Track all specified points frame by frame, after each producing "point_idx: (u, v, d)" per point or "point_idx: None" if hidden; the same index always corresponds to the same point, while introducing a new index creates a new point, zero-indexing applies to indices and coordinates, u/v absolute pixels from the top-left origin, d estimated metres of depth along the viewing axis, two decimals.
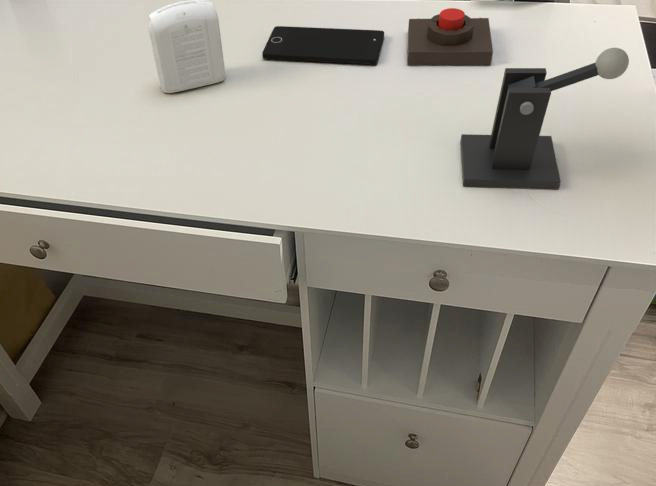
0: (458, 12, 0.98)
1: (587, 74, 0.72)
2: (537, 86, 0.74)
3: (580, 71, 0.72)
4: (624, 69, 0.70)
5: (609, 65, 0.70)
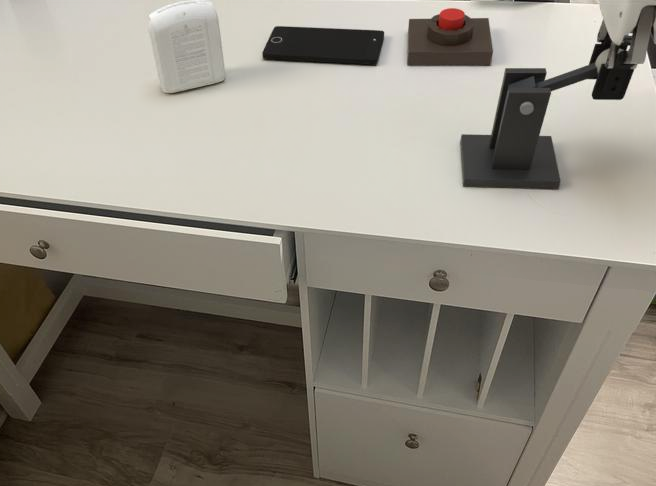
0: (458, 12, 0.98)
1: (587, 74, 0.72)
2: (537, 86, 0.74)
3: (580, 71, 0.72)
4: None
5: None
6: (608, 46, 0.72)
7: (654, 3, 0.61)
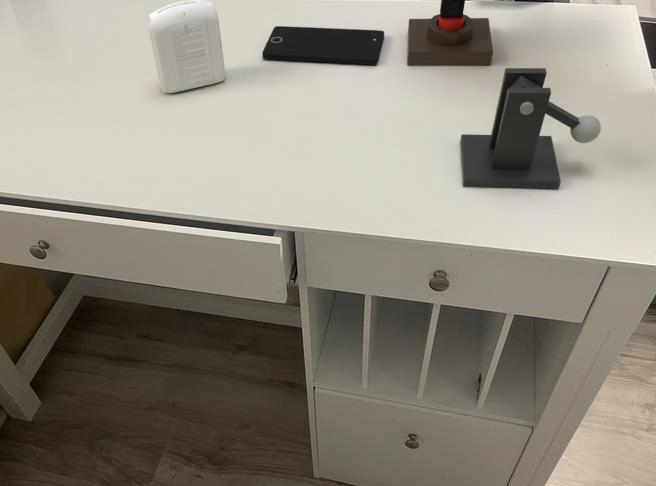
0: None
1: (570, 122, 0.77)
2: None
3: (568, 115, 0.76)
4: (590, 141, 0.77)
5: (590, 130, 0.76)
6: None
7: None
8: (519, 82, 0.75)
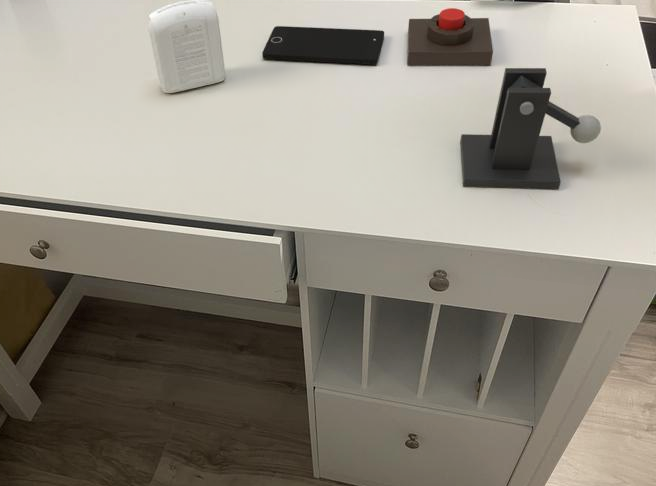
0: (458, 12, 0.98)
1: (570, 122, 0.77)
2: None
3: (568, 115, 0.76)
4: (590, 141, 0.77)
5: (590, 130, 0.76)
6: None
7: None
8: (519, 82, 0.75)
